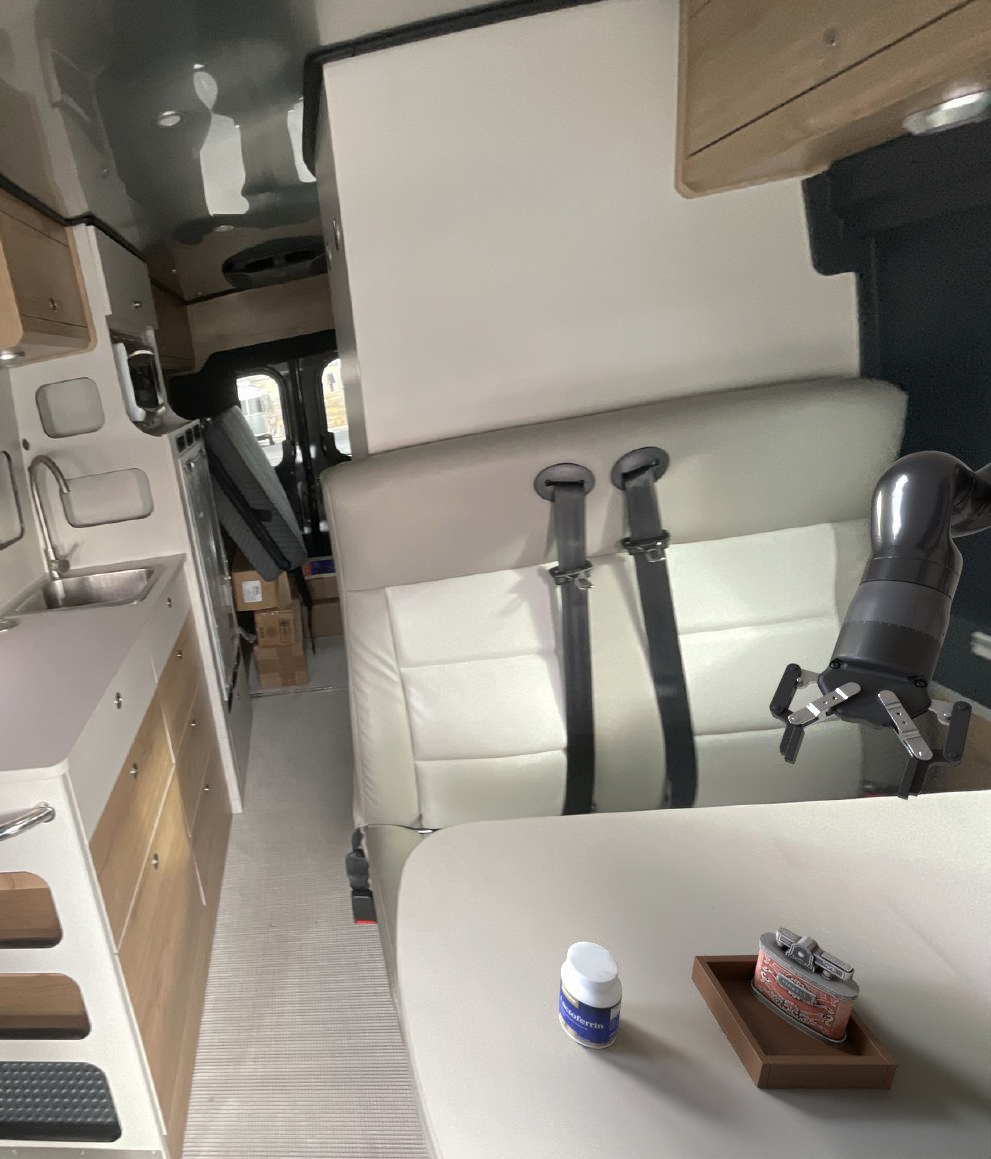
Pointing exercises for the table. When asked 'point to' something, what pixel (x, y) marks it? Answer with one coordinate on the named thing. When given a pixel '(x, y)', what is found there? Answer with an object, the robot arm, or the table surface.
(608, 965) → the pill bottle
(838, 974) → the lighter
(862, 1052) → the tray
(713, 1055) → the table surface
